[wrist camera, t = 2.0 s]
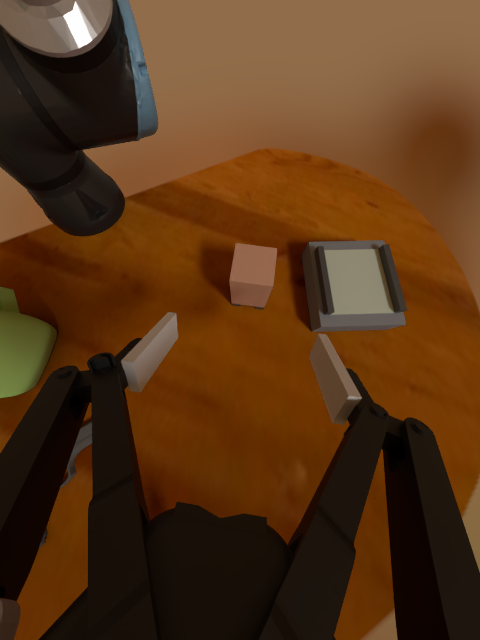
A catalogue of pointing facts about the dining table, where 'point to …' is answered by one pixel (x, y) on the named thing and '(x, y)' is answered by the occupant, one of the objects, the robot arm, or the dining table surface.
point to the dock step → (352, 286)
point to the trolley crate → (252, 275)
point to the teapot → (21, 347)
